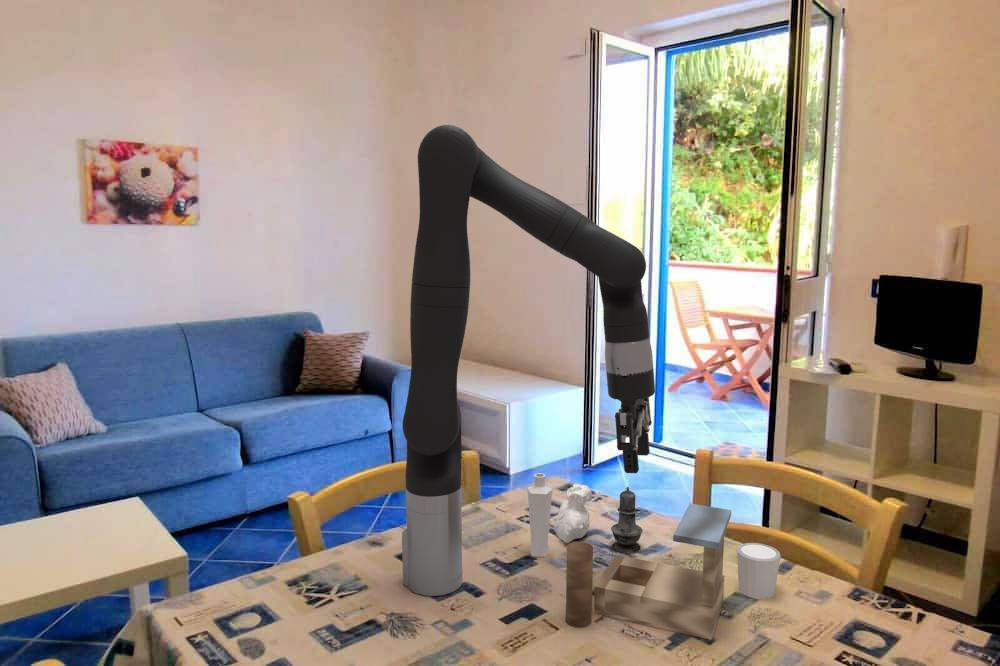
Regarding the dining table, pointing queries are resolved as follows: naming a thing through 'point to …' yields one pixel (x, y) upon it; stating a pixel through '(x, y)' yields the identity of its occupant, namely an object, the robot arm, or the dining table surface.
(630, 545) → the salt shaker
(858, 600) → the dining table surface
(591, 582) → the peg
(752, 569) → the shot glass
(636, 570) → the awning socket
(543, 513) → the perfume bottle
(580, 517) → the bust
